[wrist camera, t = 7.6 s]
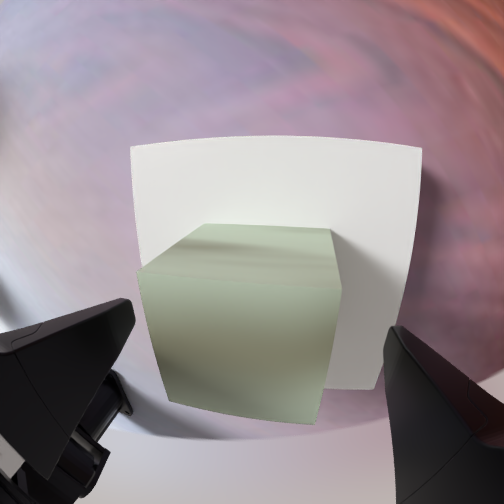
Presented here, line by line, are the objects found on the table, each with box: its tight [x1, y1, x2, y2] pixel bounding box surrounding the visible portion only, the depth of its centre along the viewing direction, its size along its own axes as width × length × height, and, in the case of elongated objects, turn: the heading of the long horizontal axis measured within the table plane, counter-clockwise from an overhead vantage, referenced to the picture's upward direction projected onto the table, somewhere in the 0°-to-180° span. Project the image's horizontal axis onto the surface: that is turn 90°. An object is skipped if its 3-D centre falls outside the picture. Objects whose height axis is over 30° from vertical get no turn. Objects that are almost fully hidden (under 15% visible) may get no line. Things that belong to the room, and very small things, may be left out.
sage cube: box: [136, 223, 342, 425], centre depth 9 cm, size 5×5×5 cm
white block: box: [130, 136, 422, 390], centre depth 13 cm, size 12×12×3 cm
